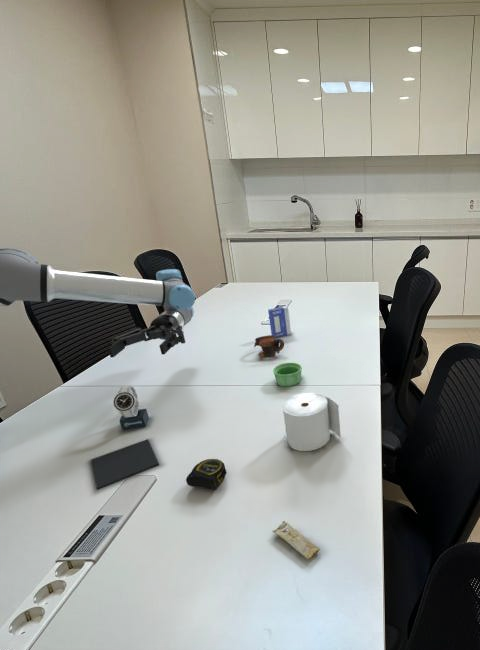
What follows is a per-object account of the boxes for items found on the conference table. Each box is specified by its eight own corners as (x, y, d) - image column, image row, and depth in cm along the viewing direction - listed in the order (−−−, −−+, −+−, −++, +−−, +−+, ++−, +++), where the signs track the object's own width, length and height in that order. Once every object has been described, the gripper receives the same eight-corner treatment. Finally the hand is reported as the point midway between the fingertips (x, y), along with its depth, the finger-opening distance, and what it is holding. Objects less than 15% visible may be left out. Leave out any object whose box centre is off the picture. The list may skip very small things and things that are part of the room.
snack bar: (321, 547, 67) (308, 555, 64) (319, 555, 67) (307, 563, 64) (285, 519, 72) (272, 525, 70) (283, 527, 72) (271, 533, 70)
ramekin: (294, 389, 119) (292, 376, 118) (269, 385, 122) (267, 372, 120) (307, 376, 127) (306, 364, 125) (283, 372, 130) (282, 361, 128)
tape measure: (186, 489, 81) (182, 475, 80) (207, 468, 87) (204, 454, 86) (214, 495, 79) (210, 481, 78) (234, 473, 85) (231, 459, 84)
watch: (120, 434, 100) (107, 398, 95) (128, 418, 107) (116, 383, 102) (144, 430, 101) (133, 394, 97) (150, 414, 108) (140, 379, 104)
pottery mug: (251, 361, 140) (247, 338, 141) (264, 361, 149) (260, 340, 150) (281, 353, 138) (277, 331, 138) (292, 354, 147) (288, 333, 148)
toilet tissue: (282, 433, 98) (277, 399, 94) (326, 420, 103) (323, 387, 99) (294, 457, 90) (289, 420, 86) (341, 441, 95) (339, 406, 91)
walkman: (274, 338, 159) (270, 310, 154) (271, 336, 161) (267, 308, 156) (291, 333, 163) (288, 306, 158) (289, 331, 165) (285, 304, 160)
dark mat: (91, 460, 90) (91, 459, 90) (148, 440, 97) (147, 438, 97) (97, 489, 82) (96, 487, 82) (159, 464, 89) (158, 463, 88)
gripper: (208, 333, 128) (186, 361, 108) (130, 338, 126) (93, 366, 107) (204, 312, 124) (179, 336, 105) (123, 316, 123) (84, 341, 104)
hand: (136, 351), depth 106 cm, fingers open, 13 cm apart
